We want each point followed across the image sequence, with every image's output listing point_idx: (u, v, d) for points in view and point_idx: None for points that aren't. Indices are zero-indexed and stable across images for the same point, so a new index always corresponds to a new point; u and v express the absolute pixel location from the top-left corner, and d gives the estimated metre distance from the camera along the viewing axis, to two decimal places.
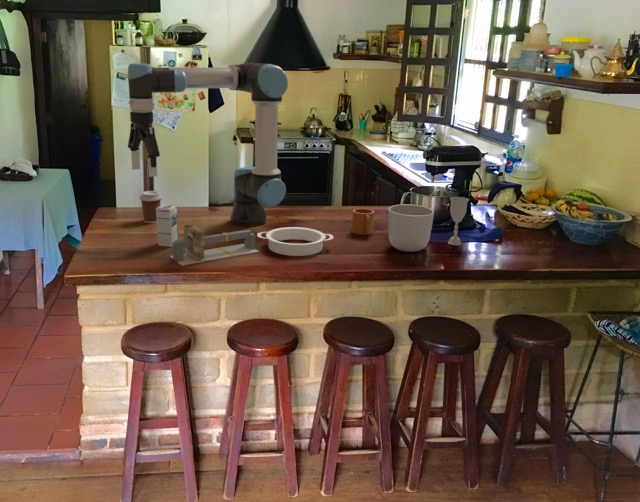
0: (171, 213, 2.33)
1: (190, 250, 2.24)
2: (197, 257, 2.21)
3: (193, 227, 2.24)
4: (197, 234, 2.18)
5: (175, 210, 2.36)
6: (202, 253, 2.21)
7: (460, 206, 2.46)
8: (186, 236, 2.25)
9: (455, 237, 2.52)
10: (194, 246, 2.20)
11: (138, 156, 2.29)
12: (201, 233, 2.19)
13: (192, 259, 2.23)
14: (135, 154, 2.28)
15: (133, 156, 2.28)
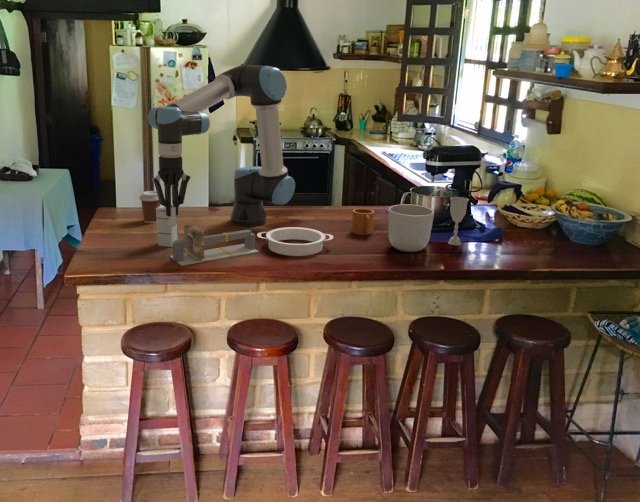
0: None
1: (190, 250, 2.24)
2: (197, 257, 2.21)
3: (193, 227, 2.24)
4: (197, 234, 2.18)
5: None
6: (202, 253, 2.21)
7: (460, 206, 2.46)
8: (186, 236, 2.25)
9: (455, 237, 2.52)
10: (194, 246, 2.20)
11: None
12: (201, 233, 2.19)
13: (192, 259, 2.23)
14: None
15: None
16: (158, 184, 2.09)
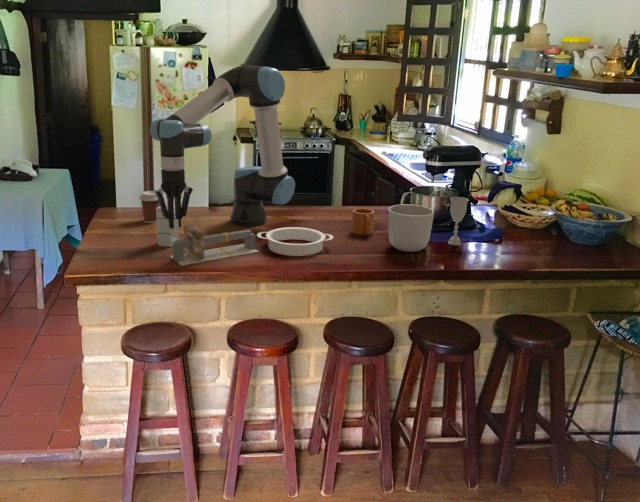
0: None
1: (190, 250, 2.24)
2: (197, 257, 2.21)
3: (193, 227, 2.24)
4: (197, 234, 2.18)
5: None
6: (202, 253, 2.21)
7: (460, 206, 2.46)
8: (186, 236, 2.25)
9: (455, 237, 2.52)
10: (194, 246, 2.20)
11: None
12: (201, 233, 2.19)
13: (192, 259, 2.23)
14: None
15: None
16: (161, 197, 2.11)
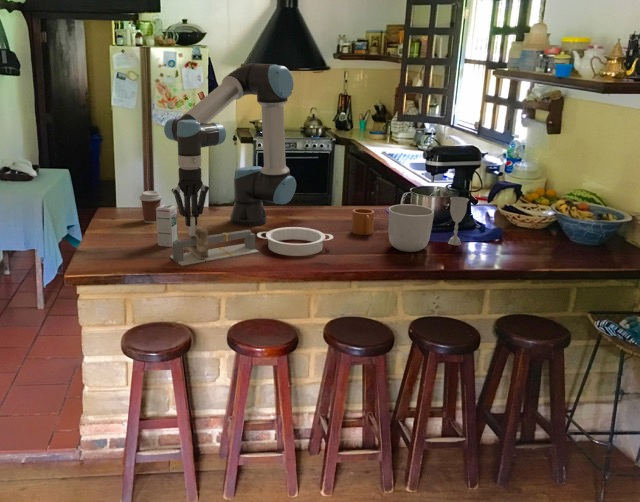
0: (171, 213, 2.33)
1: (194, 249, 2.25)
2: (201, 256, 2.22)
3: (197, 226, 2.24)
4: (201, 233, 2.19)
5: (175, 210, 2.36)
6: (206, 252, 2.22)
7: (460, 206, 2.46)
8: None
9: (455, 237, 2.52)
10: (198, 245, 2.21)
11: None
12: (205, 232, 2.20)
13: (192, 259, 2.23)
14: None
15: None
16: (178, 195, 2.14)
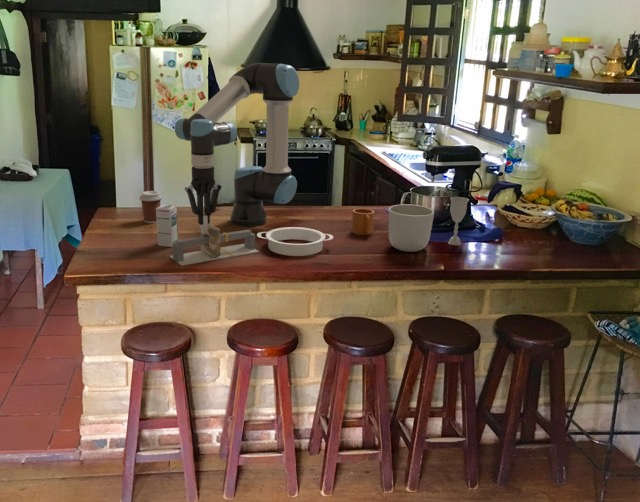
0: (171, 213, 2.33)
1: (206, 247, 2.27)
2: (213, 254, 2.24)
3: (209, 225, 2.27)
4: (214, 232, 2.22)
5: (175, 210, 2.36)
6: (218, 250, 2.25)
7: (460, 206, 2.46)
8: (202, 234, 2.28)
9: (455, 237, 2.52)
10: (210, 243, 2.24)
11: None
12: (217, 231, 2.22)
13: (192, 259, 2.23)
14: None
15: None
16: (191, 194, 2.17)
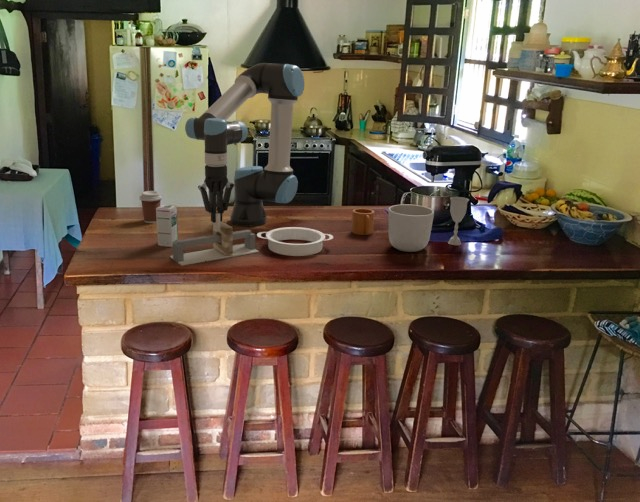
0: (171, 213, 2.33)
1: (219, 245, 2.30)
2: (226, 252, 2.27)
3: (222, 223, 2.30)
4: (226, 230, 2.24)
5: (175, 210, 2.36)
6: (231, 248, 2.28)
7: (460, 206, 2.46)
8: (215, 232, 2.31)
9: (455, 237, 2.52)
10: (223, 241, 2.26)
11: None
12: (230, 229, 2.25)
13: (192, 259, 2.23)
14: None
15: None
16: (204, 192, 2.19)
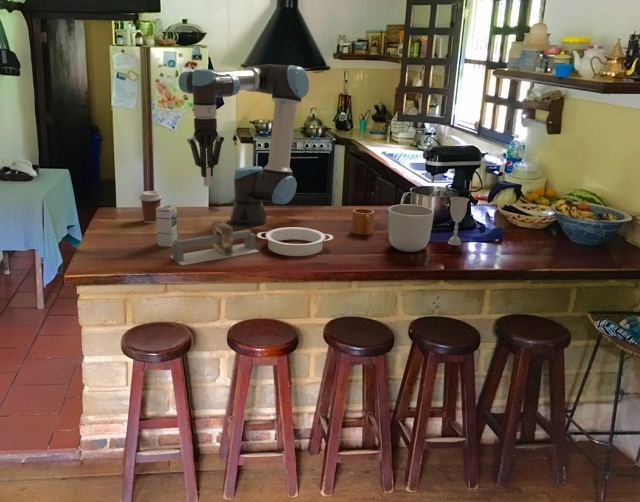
0: (171, 213, 2.33)
1: (219, 245, 2.30)
2: (226, 252, 2.27)
3: (222, 223, 2.30)
4: (226, 230, 2.24)
5: (175, 210, 2.36)
6: (231, 248, 2.28)
7: (460, 206, 2.46)
8: (215, 232, 2.31)
9: (455, 237, 2.52)
10: (223, 241, 2.26)
11: None
12: (230, 229, 2.25)
13: (192, 259, 2.23)
14: None
15: None
16: (194, 145, 2.16)
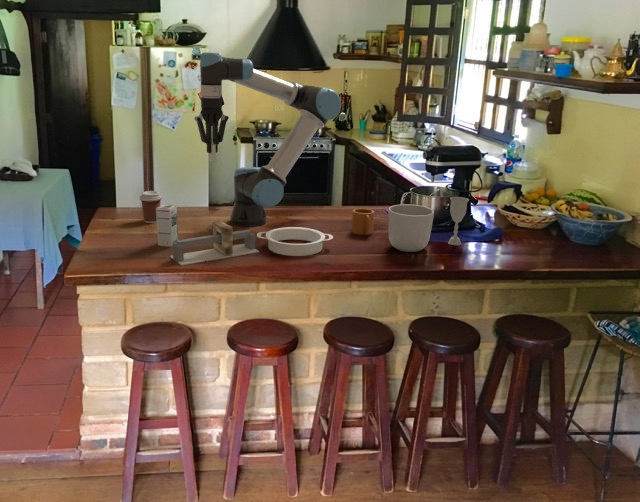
0: (171, 213, 2.33)
1: (219, 245, 2.30)
2: (226, 252, 2.27)
3: (222, 223, 2.30)
4: (226, 230, 2.24)
5: (175, 210, 2.36)
6: (231, 248, 2.28)
7: (460, 206, 2.46)
8: (215, 232, 2.31)
9: (455, 237, 2.52)
10: (223, 241, 2.26)
11: None
12: (230, 229, 2.25)
13: (192, 259, 2.23)
14: None
15: None
16: (201, 122, 2.33)
